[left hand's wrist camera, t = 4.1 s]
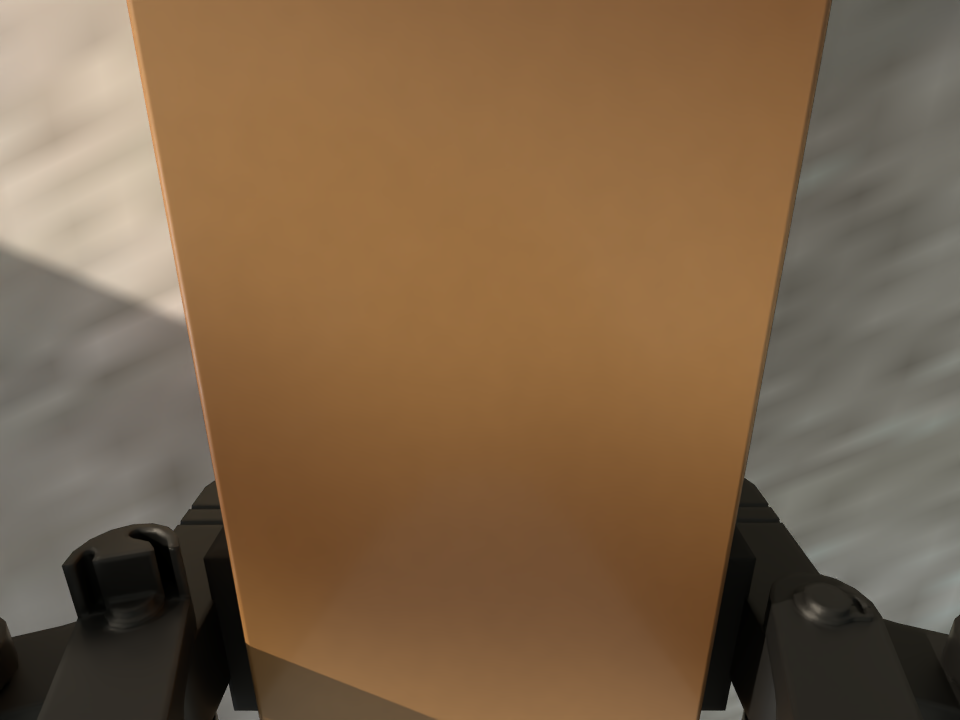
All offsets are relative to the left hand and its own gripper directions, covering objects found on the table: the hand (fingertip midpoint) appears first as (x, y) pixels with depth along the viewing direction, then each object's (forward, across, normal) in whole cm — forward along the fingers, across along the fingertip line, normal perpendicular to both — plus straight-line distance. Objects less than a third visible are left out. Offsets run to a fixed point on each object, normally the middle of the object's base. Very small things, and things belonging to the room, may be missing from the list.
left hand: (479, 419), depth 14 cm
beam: (+1, 0, -35) cm, 35 cm away
